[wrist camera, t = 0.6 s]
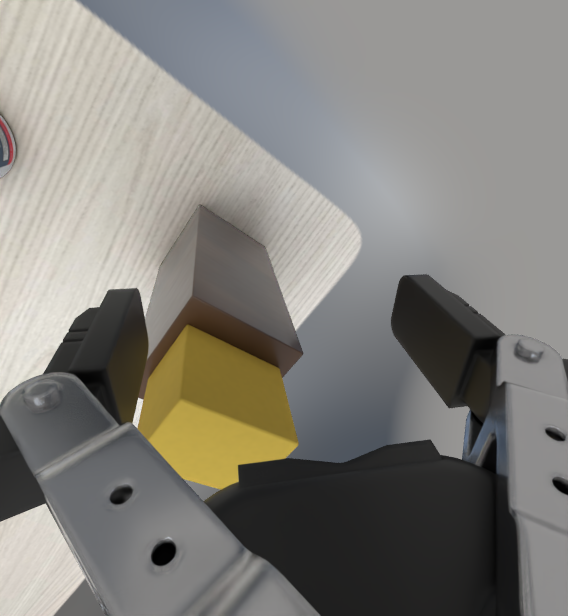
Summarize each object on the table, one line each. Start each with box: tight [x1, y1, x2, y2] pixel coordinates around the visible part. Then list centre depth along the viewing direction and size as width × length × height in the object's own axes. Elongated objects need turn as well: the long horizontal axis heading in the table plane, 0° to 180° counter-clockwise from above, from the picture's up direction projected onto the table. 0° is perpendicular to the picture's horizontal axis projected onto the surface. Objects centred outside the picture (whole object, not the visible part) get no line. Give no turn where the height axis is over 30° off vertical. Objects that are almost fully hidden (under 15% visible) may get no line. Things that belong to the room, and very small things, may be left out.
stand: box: [138, 205, 303, 399], centre depth 23 cm, size 6×6×14 cm
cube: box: [138, 325, 298, 489], centre depth 15 cm, size 5×4×4 cm
